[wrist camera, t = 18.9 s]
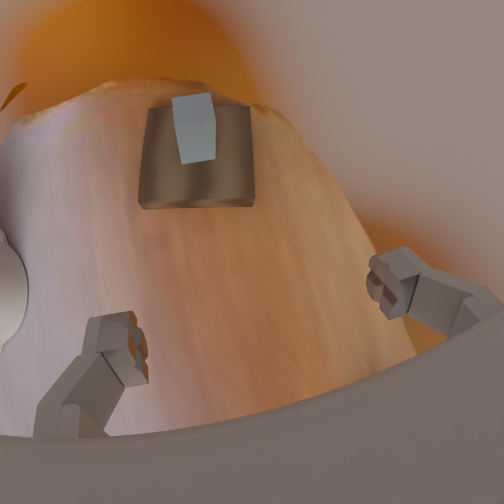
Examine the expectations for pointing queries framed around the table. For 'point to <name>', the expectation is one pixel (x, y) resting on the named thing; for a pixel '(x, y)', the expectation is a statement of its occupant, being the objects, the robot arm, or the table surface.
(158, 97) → the table surface
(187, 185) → the walnut plinth
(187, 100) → the slate block
